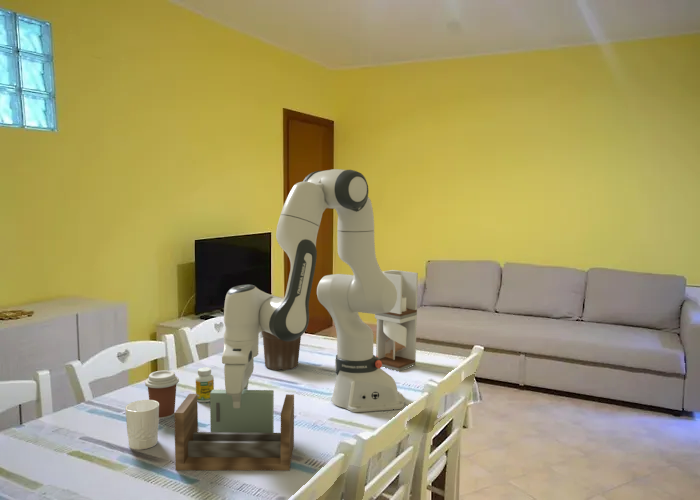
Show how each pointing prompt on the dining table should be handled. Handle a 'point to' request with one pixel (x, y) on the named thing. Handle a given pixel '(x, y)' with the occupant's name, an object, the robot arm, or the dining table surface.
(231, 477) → the dining table surface
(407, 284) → the display case
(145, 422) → the white cup
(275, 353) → the plant pot
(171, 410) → the coffee cup
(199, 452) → the wooden book rack
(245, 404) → the door panel
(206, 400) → the supplement bottle
